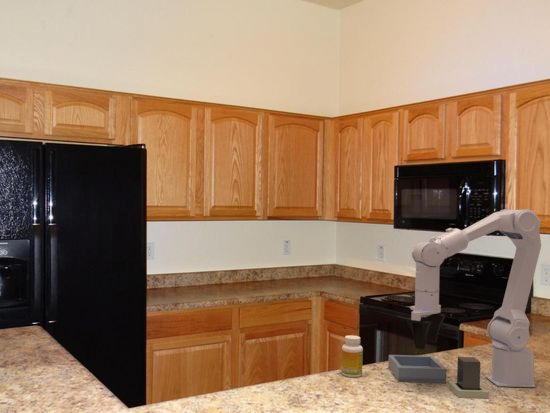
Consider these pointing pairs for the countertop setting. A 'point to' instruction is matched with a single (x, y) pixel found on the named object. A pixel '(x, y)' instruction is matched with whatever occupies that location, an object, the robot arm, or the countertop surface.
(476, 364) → the dark wooden post
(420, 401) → the countertop surface
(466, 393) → the holder
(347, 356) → the supplement bottle
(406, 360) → the tray
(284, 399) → the countertop surface
